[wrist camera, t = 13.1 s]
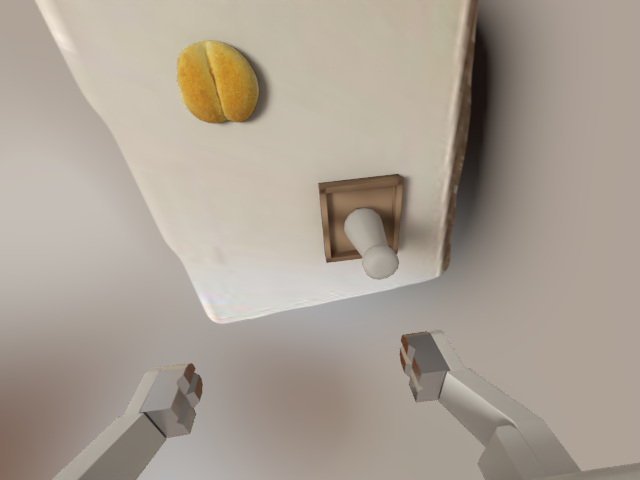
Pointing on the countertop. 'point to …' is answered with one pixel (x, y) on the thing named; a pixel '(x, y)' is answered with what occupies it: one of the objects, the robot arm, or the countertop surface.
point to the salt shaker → (371, 243)
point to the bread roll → (216, 82)
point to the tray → (356, 194)
